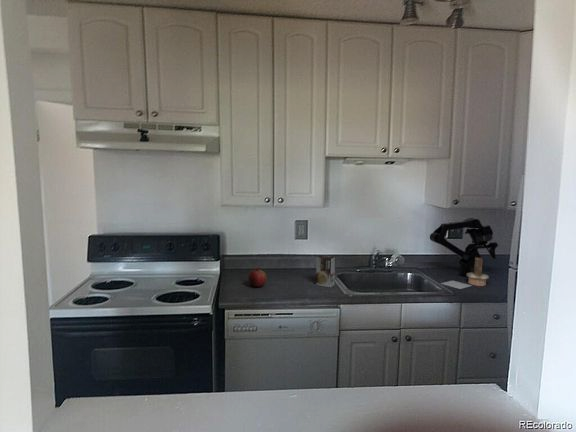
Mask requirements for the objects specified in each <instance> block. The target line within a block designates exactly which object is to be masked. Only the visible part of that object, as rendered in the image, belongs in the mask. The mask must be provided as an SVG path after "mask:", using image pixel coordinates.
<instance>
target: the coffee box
mask: <svg viewBox="0 0 576 432" xmlns="http://www.w3.org/2000/svg"><path fill="white" fill-rule="evenodd" d="M315 266H316V271H315V285H316V286H318V287H319V286H320V287H324V288H325V287H326V288H332V287H333V286H335V285H336V256H331V255H330V256H329V255H325V254H320V255H318V256H317V257H316V265H315Z"/></svg>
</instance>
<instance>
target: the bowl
mask: <svg viewBox="0 0 576 432" xmlns="http://www.w3.org/2000/svg"><path fill="white" fill-rule="evenodd" d="M467 284H469V285H471V286H477V287H484V286H486V284H487V279H475V278H470V277H468V283H467Z"/></svg>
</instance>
